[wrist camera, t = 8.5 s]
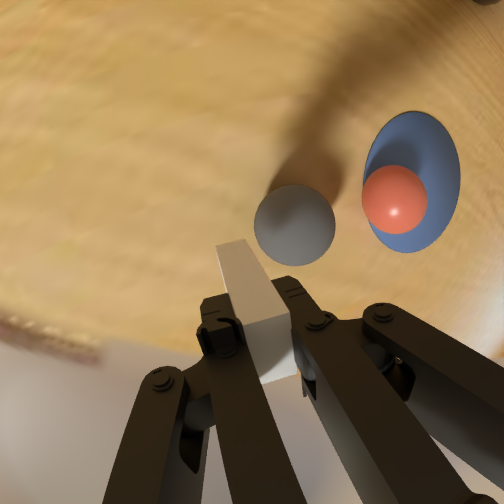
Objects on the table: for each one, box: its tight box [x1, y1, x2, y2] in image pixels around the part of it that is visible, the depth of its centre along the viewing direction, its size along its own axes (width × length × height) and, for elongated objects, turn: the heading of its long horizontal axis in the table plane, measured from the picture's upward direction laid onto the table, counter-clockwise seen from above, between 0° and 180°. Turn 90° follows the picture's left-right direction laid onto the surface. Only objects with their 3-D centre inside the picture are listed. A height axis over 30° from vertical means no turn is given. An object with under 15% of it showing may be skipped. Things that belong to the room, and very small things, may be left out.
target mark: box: [363, 112, 460, 253], centre depth 24 cm, size 14×14×1 cm
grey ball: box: [254, 185, 336, 266], centre depth 20 cm, size 6×6×6 cm
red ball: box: [362, 165, 427, 234], centre depth 21 cm, size 6×6×6 cm
